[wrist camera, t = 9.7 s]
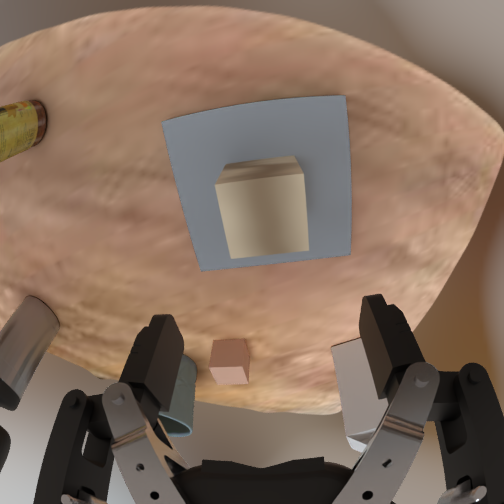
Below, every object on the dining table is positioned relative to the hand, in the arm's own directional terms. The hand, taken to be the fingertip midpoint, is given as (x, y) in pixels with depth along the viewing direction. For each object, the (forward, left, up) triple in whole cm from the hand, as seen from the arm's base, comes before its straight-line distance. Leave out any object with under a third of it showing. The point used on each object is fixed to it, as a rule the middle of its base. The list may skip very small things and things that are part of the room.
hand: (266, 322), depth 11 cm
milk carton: (+11, -28, -18) cm, 35 cm away
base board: (0, 0, -18) cm, 18 cm away
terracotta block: (-8, -24, -18) cm, 31 cm away
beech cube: (0, 0, -16) cm, 16 cm away
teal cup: (-19, -28, -18) cm, 38 cm away
